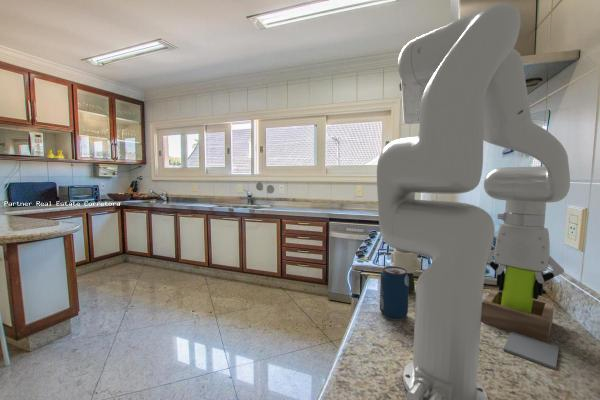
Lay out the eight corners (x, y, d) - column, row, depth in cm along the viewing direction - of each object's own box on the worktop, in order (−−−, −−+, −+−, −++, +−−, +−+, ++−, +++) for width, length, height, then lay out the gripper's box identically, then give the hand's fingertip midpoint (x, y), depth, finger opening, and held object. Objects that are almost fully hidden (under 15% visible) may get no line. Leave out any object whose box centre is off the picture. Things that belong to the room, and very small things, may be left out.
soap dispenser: (540, 327, 65) (552, 244, 63) (507, 322, 66) (518, 240, 64) (525, 315, 70) (536, 238, 69) (495, 311, 72) (505, 235, 70)
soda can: (413, 316, 71) (415, 271, 70) (396, 324, 67) (398, 276, 66) (390, 306, 77) (392, 263, 76) (373, 313, 73) (375, 268, 72)
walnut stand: (548, 343, 60) (549, 320, 60) (480, 321, 69) (482, 302, 68) (552, 322, 69) (554, 302, 68) (492, 305, 78) (493, 288, 77)
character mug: (426, 294, 84) (428, 252, 83) (411, 299, 81) (413, 256, 80) (397, 282, 94) (399, 245, 93) (382, 287, 90) (384, 247, 89)
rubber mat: (555, 369, 52) (555, 367, 51) (503, 350, 57) (503, 348, 57) (558, 349, 58) (558, 346, 58) (511, 333, 64) (511, 331, 63)
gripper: (478, 218, 70) (473, 287, 71) (573, 227, 58) (566, 310, 59) (485, 215, 75) (481, 280, 77) (574, 223, 63) (567, 300, 64)
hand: (518, 292), depth 68 cm, fingers closed on soap dispenser, 6 cm apart
